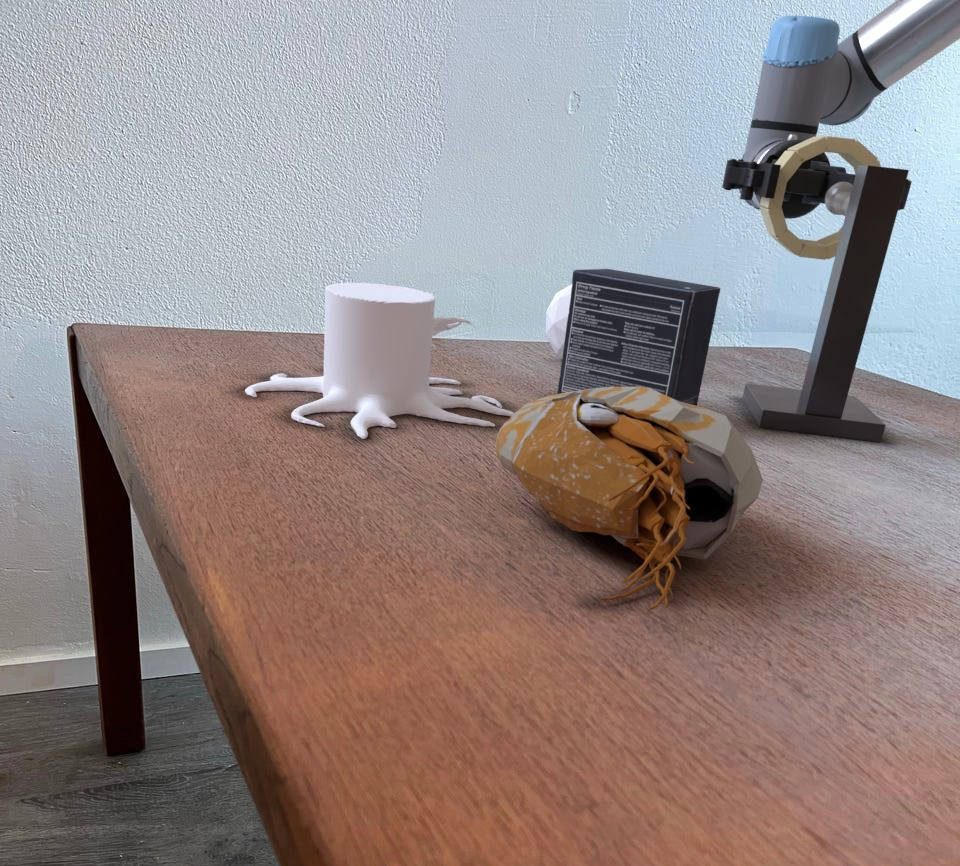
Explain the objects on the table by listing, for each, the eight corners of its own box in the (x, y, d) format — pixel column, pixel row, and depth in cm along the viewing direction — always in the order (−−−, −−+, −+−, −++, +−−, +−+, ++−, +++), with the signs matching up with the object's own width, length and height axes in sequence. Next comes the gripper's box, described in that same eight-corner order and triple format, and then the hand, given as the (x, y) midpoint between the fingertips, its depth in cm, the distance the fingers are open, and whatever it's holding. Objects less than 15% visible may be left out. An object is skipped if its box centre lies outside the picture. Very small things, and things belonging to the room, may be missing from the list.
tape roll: (854, 259, 95) (884, 143, 90) (866, 264, 91) (898, 143, 86) (750, 246, 95) (775, 131, 91) (758, 252, 91) (784, 131, 87)
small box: (699, 416, 83) (725, 285, 78) (669, 429, 78) (696, 291, 73) (587, 389, 87) (606, 264, 83) (552, 400, 82) (570, 268, 78)
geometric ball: (592, 388, 100) (649, 328, 98) (570, 371, 93) (631, 306, 90) (543, 337, 102) (598, 277, 100) (518, 317, 94) (577, 251, 92)
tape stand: (841, 402, 93) (904, 169, 84) (880, 442, 81) (959, 175, 72) (736, 389, 94) (787, 156, 84) (759, 427, 81) (821, 160, 72)
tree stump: (544, 431, 74) (559, 320, 70) (292, 441, 65) (293, 315, 62) (436, 367, 89) (443, 273, 85) (221, 369, 81) (218, 264, 77)
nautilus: (773, 665, 45) (447, 629, 46) (739, 490, 63) (506, 468, 65) (809, 502, 41) (451, 469, 42) (762, 366, 59) (513, 346, 61)
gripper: (690, 128, 105) (714, 126, 85) (904, 151, 104) (978, 155, 84) (677, 204, 108) (697, 219, 89) (883, 228, 108) (950, 248, 88)
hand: (834, 188), depth 87 cm, fingers closed on tape roll, 10 cm apart
